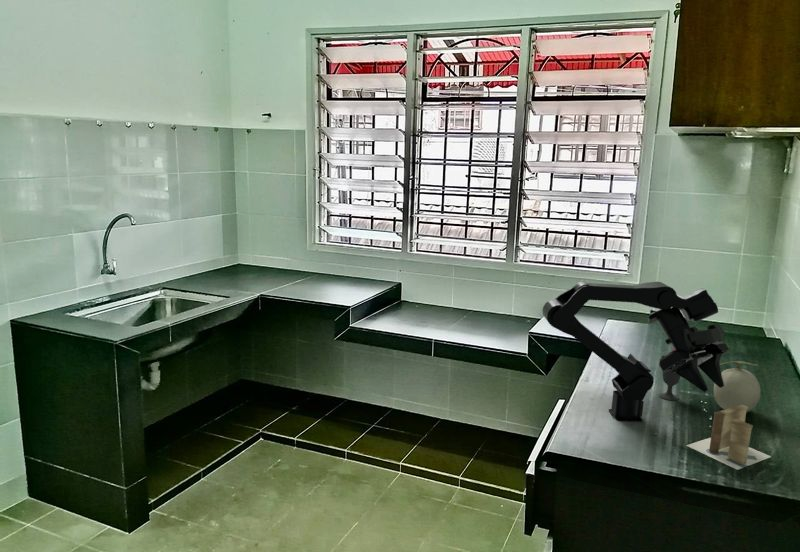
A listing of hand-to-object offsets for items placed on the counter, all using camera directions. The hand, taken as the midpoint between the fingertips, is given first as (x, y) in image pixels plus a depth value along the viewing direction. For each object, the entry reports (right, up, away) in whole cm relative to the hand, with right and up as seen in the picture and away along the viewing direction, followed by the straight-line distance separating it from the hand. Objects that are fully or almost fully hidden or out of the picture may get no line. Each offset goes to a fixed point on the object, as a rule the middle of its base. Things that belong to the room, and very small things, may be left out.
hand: (714, 389), depth 137 cm
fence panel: (+2, -12, -2) cm, 13 cm away
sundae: (+2, -8, +28) cm, 29 cm away
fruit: (+15, -10, +20) cm, 26 cm away
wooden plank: (-1, -14, -7) cm, 15 cm away
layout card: (+1, -14, -3) cm, 14 cm away
